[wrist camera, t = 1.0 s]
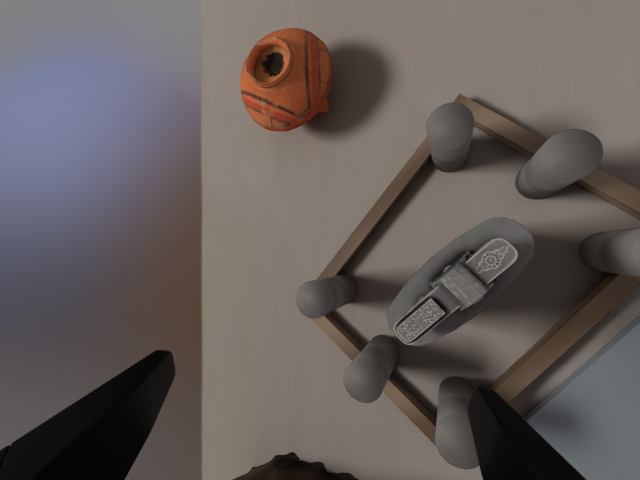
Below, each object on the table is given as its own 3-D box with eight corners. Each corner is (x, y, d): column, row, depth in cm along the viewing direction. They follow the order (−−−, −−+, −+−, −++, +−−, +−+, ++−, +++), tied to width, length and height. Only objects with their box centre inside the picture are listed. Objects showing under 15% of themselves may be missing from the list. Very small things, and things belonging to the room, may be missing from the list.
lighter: (479, 216, 21) (501, 191, 12) (520, 251, 20) (579, 253, 11) (396, 291, 23) (359, 320, 14) (428, 326, 22) (412, 381, 13)
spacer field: (691, 226, 17) (809, 215, 11) (447, 448, 21) (446, 518, 16) (459, 100, 22) (462, 49, 16) (302, 302, 26) (263, 316, 21)
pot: (260, 63, 28) (226, 5, 22) (342, 61, 27) (332, -2, 20) (253, 146, 28) (216, 113, 22) (335, 148, 27) (322, 114, 20)
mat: (761, 398, 15) (773, 404, 15) (593, 519, 18) (597, 527, 17) (638, 316, 17) (644, 318, 17) (502, 435, 20) (503, 440, 19)
